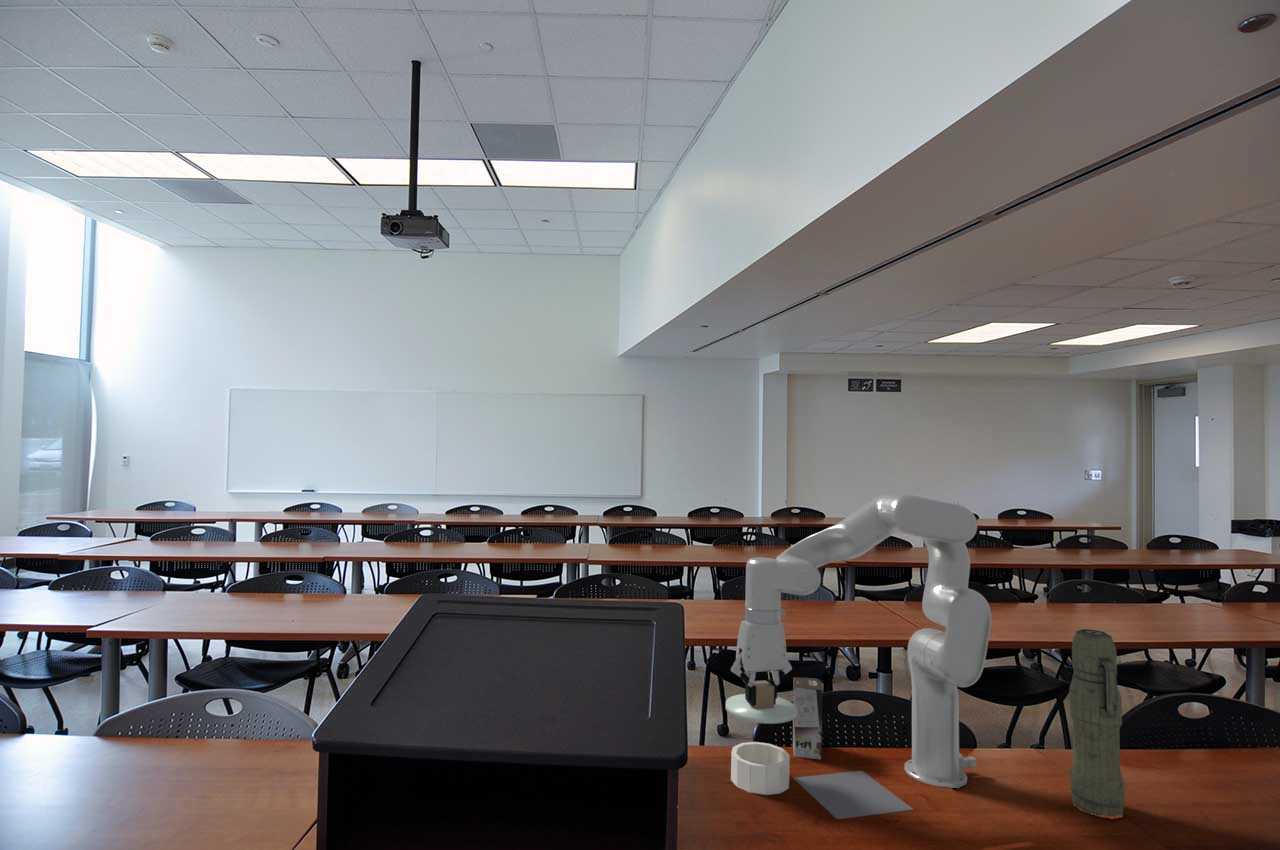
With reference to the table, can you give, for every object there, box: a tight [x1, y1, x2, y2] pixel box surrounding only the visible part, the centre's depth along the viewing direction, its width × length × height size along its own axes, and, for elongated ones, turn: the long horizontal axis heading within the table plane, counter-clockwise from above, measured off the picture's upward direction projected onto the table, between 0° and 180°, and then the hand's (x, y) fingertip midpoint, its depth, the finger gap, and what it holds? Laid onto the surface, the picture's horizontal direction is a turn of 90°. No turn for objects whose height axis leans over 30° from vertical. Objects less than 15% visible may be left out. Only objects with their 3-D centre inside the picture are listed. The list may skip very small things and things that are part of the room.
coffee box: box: [792, 676, 823, 760], centre depth 155 cm, size 9×6×16 cm
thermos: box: [1068, 628, 1125, 816], centre depth 133 cm, size 9×12×35 cm
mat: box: [792, 770, 914, 820], centre depth 133 cm, size 17×17×1 cm
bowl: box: [730, 741, 791, 796], centre depth 138 cm, size 12×12×6 cm
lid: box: [725, 680, 797, 725], centre depth 139 cm, size 15×15×6 cm
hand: (760, 702), depth 139 cm, fingers closed on lid, 4 cm apart
